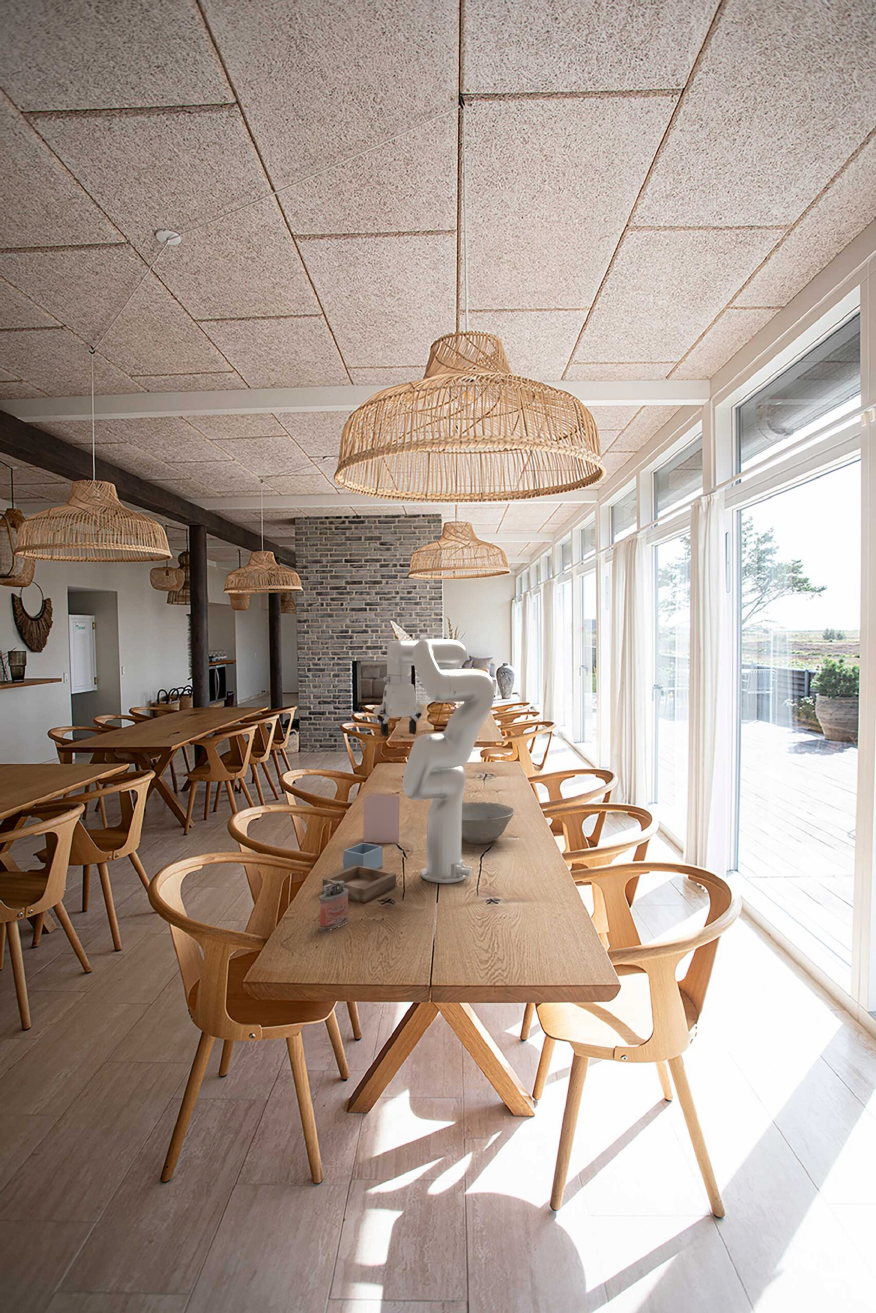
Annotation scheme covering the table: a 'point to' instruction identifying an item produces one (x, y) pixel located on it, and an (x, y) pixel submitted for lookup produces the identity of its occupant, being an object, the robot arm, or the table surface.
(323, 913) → the lighter
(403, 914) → the table surface
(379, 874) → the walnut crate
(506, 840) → the table surface
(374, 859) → the small crate
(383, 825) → the greeting card
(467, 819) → the ceramic bowl
